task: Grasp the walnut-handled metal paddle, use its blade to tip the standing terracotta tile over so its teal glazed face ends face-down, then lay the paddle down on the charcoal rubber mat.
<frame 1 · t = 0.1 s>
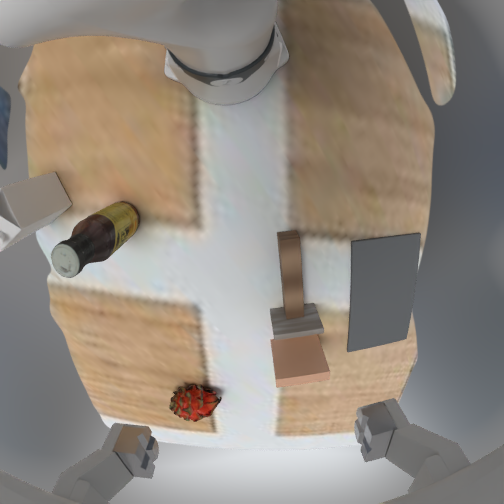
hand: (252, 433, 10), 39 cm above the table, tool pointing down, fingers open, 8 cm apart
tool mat: (383, 296, 52), on the table
tile: (294, 340, 55), on the table
paddle: (292, 305, 53), on the table
milk carton: (52, 197, 44), on the table
sauce bottle: (125, 217, 46), on the table
dragon fruit: (196, 390, 60), on the table
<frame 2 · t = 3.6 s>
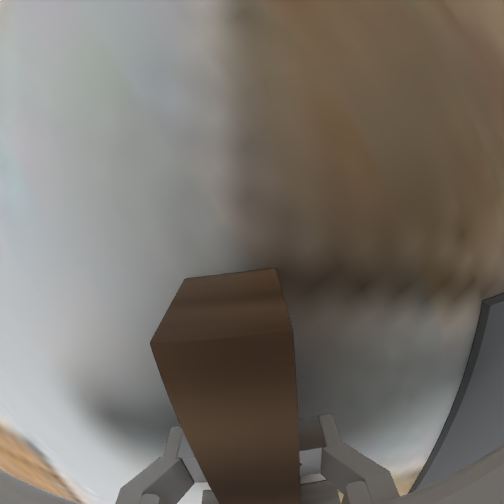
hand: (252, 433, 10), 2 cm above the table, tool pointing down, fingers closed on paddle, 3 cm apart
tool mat: (499, 419, 13), on the table
paddle: (268, 488, 13), on the table, touching gripper
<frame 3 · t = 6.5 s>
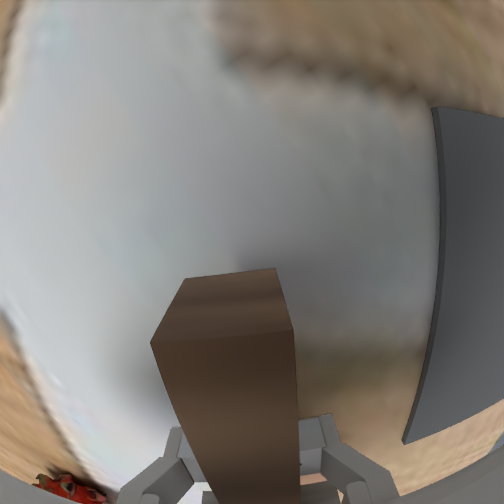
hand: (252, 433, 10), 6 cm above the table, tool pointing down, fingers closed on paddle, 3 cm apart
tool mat: (502, 296, 15), on the table
paddle: (268, 489, 13), point 4 cm above the table, touching gripper
dragon fruit: (80, 482, 21), on the table
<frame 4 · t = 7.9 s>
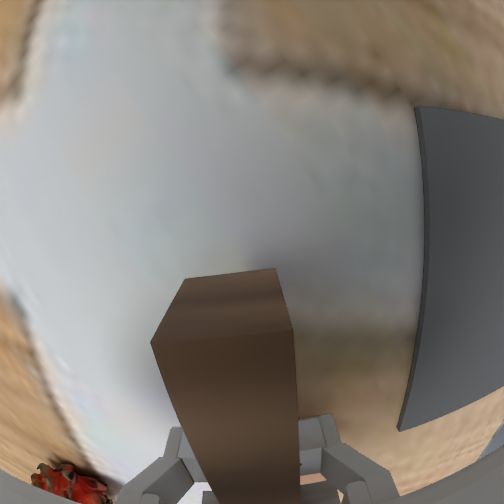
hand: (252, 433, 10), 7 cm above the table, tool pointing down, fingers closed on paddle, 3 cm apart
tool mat: (490, 284, 16), on the table
paddle: (268, 488, 13), point 6 cm above the table, touching gripper
dragon fruit: (81, 472, 22), on the table
when the fingers open (4 cm above the table, at t = 12.6 s): paddle drops 2 cm, resting on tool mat.
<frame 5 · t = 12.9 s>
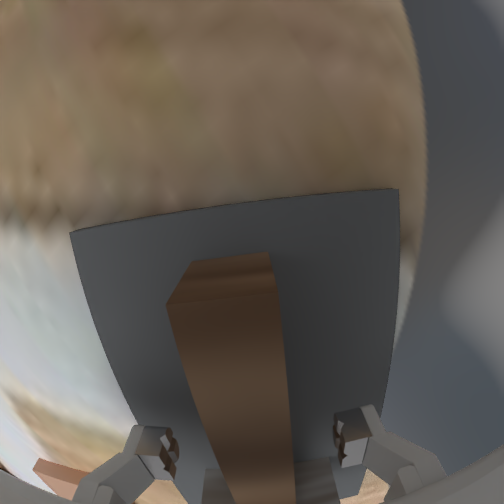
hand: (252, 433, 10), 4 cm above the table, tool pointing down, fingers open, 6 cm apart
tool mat: (260, 423, 15), on the table
tile: (67, 473, 16), point 1 cm above the table, tilted 90°
paddle: (266, 466, 15), point 1 cm above the table, touching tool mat
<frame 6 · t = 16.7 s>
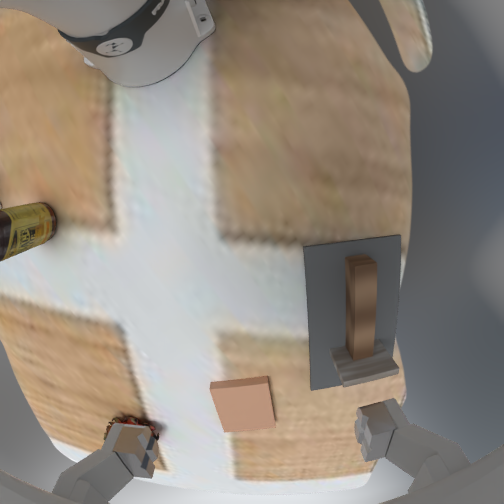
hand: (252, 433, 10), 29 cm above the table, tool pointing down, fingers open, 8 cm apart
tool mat: (354, 319, 41), on the table
tile: (238, 382, 43), point 1 cm above the table, tilted 90°
paddle: (354, 343, 41), point 1 cm above the table, touching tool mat
sauce bottle: (45, 220, 36), on the table
dragon fruit: (136, 423, 47), on the table
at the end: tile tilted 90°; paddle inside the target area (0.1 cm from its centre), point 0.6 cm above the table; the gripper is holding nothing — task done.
